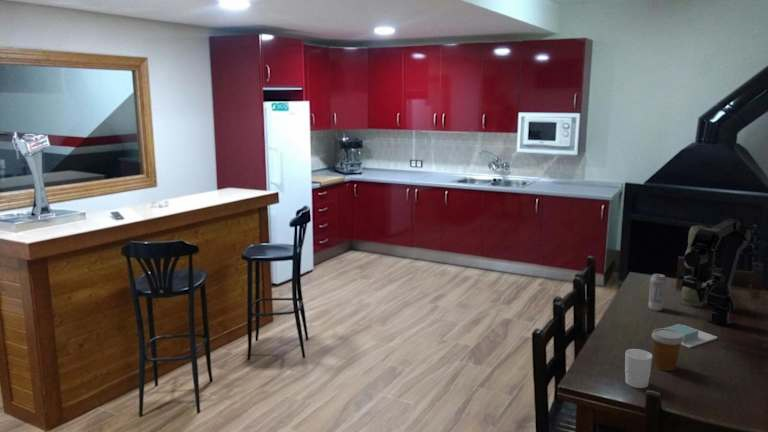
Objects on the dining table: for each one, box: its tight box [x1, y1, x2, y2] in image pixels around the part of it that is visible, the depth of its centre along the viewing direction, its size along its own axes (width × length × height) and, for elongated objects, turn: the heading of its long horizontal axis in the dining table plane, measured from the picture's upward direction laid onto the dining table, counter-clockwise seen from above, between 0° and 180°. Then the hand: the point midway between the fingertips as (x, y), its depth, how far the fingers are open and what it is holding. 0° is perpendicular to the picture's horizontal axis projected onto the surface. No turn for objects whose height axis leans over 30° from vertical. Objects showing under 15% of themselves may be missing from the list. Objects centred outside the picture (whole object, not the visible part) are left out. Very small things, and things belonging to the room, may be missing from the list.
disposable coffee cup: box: [651, 327, 683, 372], centre depth 193 cm, size 10×10×12 cm
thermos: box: [680, 224, 708, 308], centre depth 250 cm, size 9×12×35 cm
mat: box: [681, 324, 719, 349], centre depth 218 cm, size 17×14×1 cm
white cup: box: [624, 348, 654, 389], centre depth 182 cm, size 8×8×10 cm
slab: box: [663, 323, 699, 343], centre depth 216 cm, size 3×8×9 cm
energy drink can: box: [647, 273, 667, 312], centre depth 246 cm, size 6×6×15 cm
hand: (701, 301), depth 219 cm, fingers closed
